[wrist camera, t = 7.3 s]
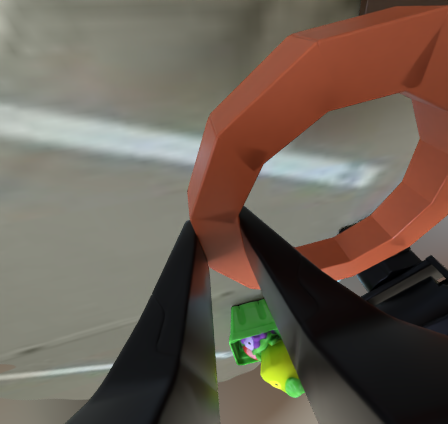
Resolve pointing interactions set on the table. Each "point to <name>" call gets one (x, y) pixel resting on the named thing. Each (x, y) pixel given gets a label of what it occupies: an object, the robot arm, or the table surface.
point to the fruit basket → (263, 346)
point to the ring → (312, 111)
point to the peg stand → (395, 4)
